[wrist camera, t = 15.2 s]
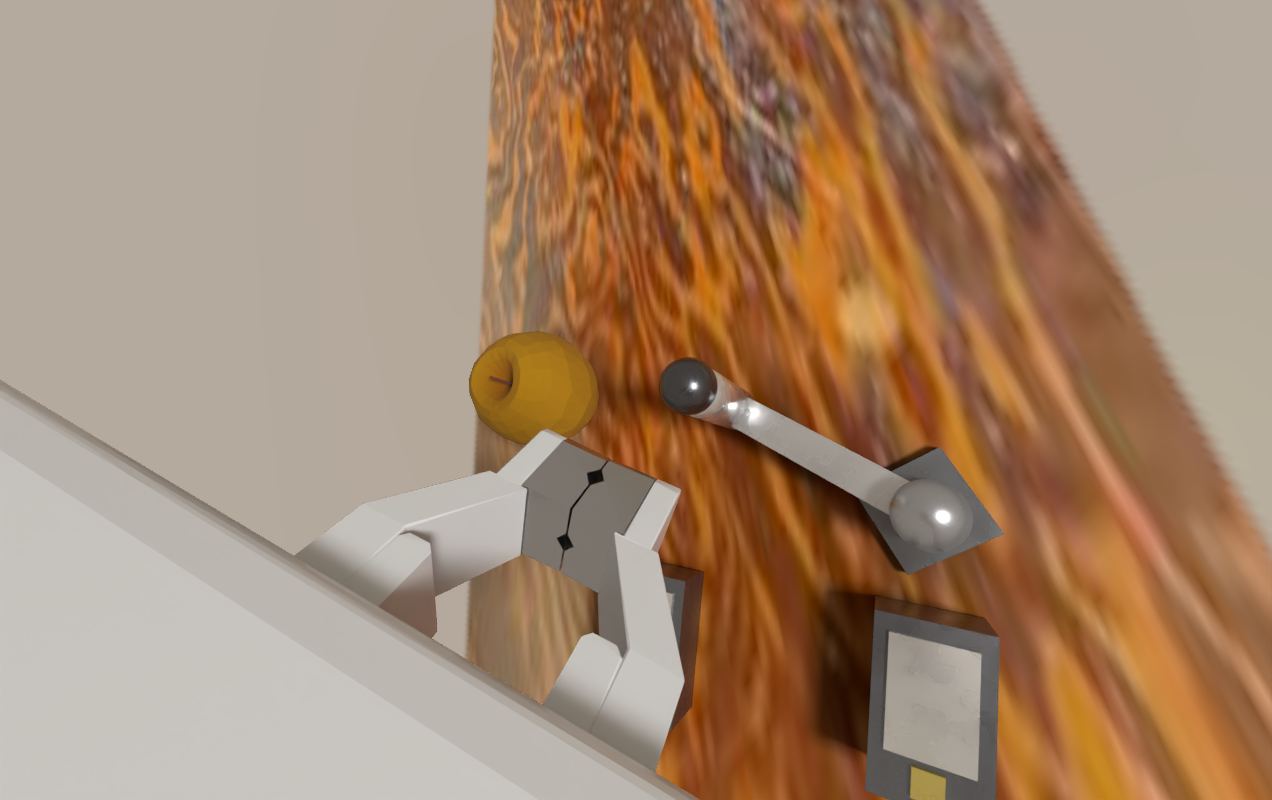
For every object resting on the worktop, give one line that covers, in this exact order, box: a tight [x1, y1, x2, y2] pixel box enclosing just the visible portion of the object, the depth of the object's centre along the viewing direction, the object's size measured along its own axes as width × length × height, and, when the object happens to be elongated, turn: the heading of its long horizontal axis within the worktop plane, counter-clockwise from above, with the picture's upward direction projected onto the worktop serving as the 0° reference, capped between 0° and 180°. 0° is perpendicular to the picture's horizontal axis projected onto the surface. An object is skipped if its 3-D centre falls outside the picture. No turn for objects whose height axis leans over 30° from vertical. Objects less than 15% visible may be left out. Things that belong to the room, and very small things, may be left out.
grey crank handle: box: [659, 357, 973, 552], centre depth 28 cm, size 18×4×12 cm, turn 59°
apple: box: [469, 331, 599, 445], centre depth 40 cm, size 10×10×12 cm
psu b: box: [865, 595, 1000, 800], centre depth 28 cm, size 6×10×4 cm, turn 173°
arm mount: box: [858, 447, 1004, 575], centre depth 31 cm, size 6×6×1 cm
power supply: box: [660, 562, 704, 731], centre depth 36 cm, size 6×10×4 cm, turn 173°
